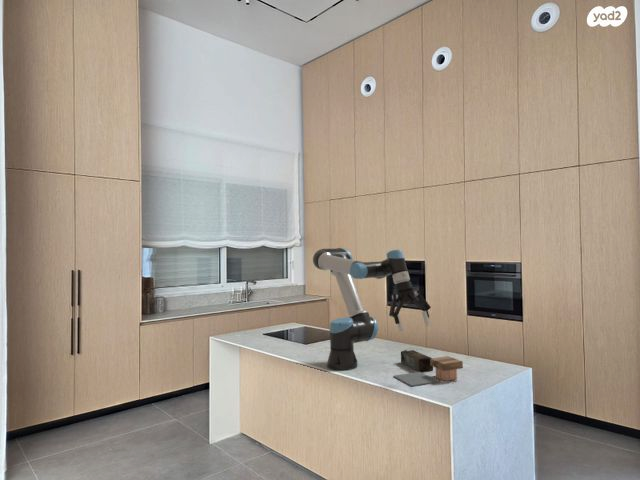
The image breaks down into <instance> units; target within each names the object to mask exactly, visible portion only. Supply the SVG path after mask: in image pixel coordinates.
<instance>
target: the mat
mask: <svg viewBox="0 0 640 480" xmlns="http://www.w3.org/2000/svg"><path fill="white" fill-rule="evenodd" d="M393 378H394V379H397V380H398V381H400V382H402V383H404V384H405V385H407V386H410V387H411V388H412V387H417V386H418V387H419V386H425V385H432V384H438V383H440V380H439V379H436V378H434V377H431V376H430V375H429V374H428V375H427V374H425V373H424V372H419V371H416V372H410V373H402V374H396V375H393Z"/></svg>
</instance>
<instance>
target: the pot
mask: <svg viewBox="0 0 640 480" xmlns="http://www.w3.org/2000/svg"><path fill="white" fill-rule="evenodd" d="M435 377H436V378H437V380H441V381H455V380H457V379H458V369H454V370H447V371H443V370H440V369H438V368H436V367H435Z"/></svg>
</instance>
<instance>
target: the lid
mask: <svg viewBox="0 0 640 480" xmlns="http://www.w3.org/2000/svg"><path fill="white" fill-rule="evenodd" d="M463 364H464V363H463V361H462V360H460V359H457V358H455V357H452V356H449V355H447V356H439V357H433V358H432V357H431V359H430V365H431V366H433V368H435V369H436V368H438V369H440V370H443V371H447V370H454V369H457V370H459V369H463V368H464V366H463Z"/></svg>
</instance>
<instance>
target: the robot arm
mask: <svg viewBox="0 0 640 480" xmlns="http://www.w3.org/2000/svg"><path fill="white" fill-rule="evenodd" d="M312 263H313V265H314V266H315V268H317V269H319V270H322V271H328V270H329V271H330V273H331V275H332V276H334V277H335V278H336V279H335V280H336V282H337V285H338V287H339V290H340V294H341V297H342V299H343V302H344V305H345V307H346V308H345V309H346V311H347V313H348V317H339V318H334V319H333V320H331V322H330V323H329V343H330V344H329V345H330V351H329V354H328V358H327V362H326V364H327V365H326V366H327V368H329V369H331V370H336V371H337V370H338V371H346V370H348V371H349V370H353V369H355V368H357V367H358V366H359V365H358V359H357V356H356V354H355V351H354V350H355V349H354V348H355V347H354V344H356V343H357V344H358V343H361V342H368V341H372V340H374V339H375V338H376V337H377V335H378V332H379V325H378V321H377V320H376V318H374V317H373V316H370V313H369V312H368V311H367V310H365V307H364V306H363V303H362V300H361V297H360V294H359V292H358V289H357V286H356V284H355V282H354V281H355V280H356V279H357V280H362V279H371V278H372V279H373V278H375V279H377V280H380V279H385V278H386V277H388V276H390V275H391V276H392V280H393V284H395V285H394V287H395V291H396V293H394V294H391V303H390V308H389V317H392V318H394V323H395V324H396V325H397V328H398V332H402V331H404V327H403V324H402V323H403V322H402V319H401V316H400V315H399V314H400V312H401V309H402V306H403V305H404V304H406V303H413V304H414V305H415V306H416V307H418V308H419V309H420V310H421V315H422V318H423V321H424V324H425V327H428V326H431V324H430V320H429V318H430V315H429V310H430V309H431V308H432V307H431V306H430V304H429V303H428V301H427V300H426V299H425V297H424V296H423V295H422V294H421V291H420V289H418V290H415V291H414V290H413V284H412V281H410V280H411V278H410V274H409V271H408V268H407V263H406V258H405V255H404V253H403V250H401V249H393V250H390V251H388V252H387V253H386V259H384V260H381V261H368V262H367V261H365V262H364V261H360V260H355V259H353V256H352V254H351V252H350V251H349V250H348V249H347V248H342V247H337V248H321V249H319V250H317V251H316V252H314V254H313V257H312ZM354 279H355V280H354ZM397 299H399V300H398V303H397ZM396 303H397V304H396ZM396 305H397V306H396Z"/></svg>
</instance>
